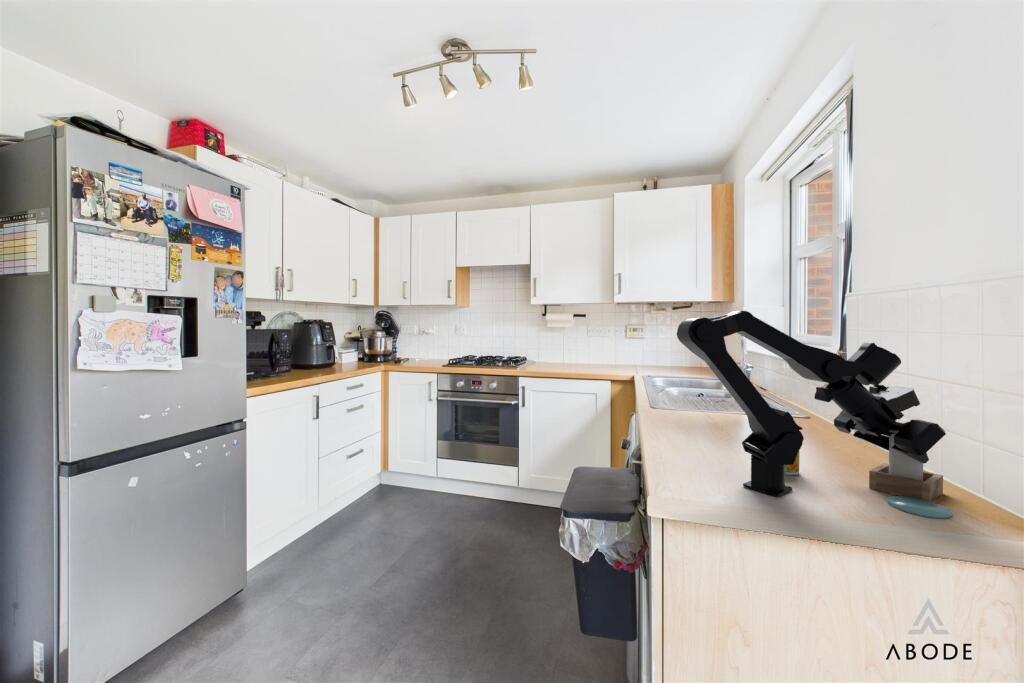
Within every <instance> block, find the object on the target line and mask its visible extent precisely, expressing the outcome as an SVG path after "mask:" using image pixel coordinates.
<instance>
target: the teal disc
mask: <svg viewBox="0 0 1024 683" xmlns="http://www.w3.org/2000/svg"><path fill="white" fill-rule="evenodd" d="M887 503H888V504H889V505H890V506H891V507H894V509H897V510H899V511H902V512H905V513H908V514H912V515H916V516H920V517H926V518H932V519H941V518H945V519H950V517H951V518H952V517H953V511H952V510H951V509H949V508H948V507H946V506H944V505H942V504H939V503H936V502H933V501H932V502H930V501H926V500H922V499H918V498H912V497H904V496H899V495H893V496H889V497H887Z"/></svg>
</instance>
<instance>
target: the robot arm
mask: <svg viewBox="0 0 1024 683" xmlns="http://www.w3.org/2000/svg"><path fill="white" fill-rule="evenodd" d="M676 330H677V332H676V336H677V339H678V341H679V342H680V343H681V344H682V345H683V346H684V347H685V348H687V350H689V351H690V352H691V353H693V354H694V355H695V356H697V357H698V358H700V359H701V360H703V362H705V363H706V365H707V366H708V368H710V370H711V371H712V373H713V374H714V375H715V377H716V378H717V379H718V380H719V381H720V383H721V384H722V385H723V387H724V388H725V389H726V390H727V391H728V393H729V394H730V395H731V397H732V398H733V400H735V402H736V403H737V405H738V406H739V407H740V408H741V409H742V411H743V412H744V413H745V415H746V416H747V420H748V426H749V429H750V430H751V432H752V433H750V434H749V435H748V436H747V437H746V438H745V439H744V440H742V442H741V445H742V448H743V450H744V452H745V453H748V454H750V455H751V456H750V480H749V481H746V482H743V483H742V486H743V487H744V488H749V489H751V490H754V491H757V492H760V493H764V494H766V495H770V496H773V497H780V496H783V495H785V494H788V493H789V492H791V491H793V487H792V486H789V485H786V481H785V480H786V478H785V477H786V476H785V465H793V464H794V461H795V459H796V456H797V453H798V451H799V452H800V450H801V448H802V446H803V443H804V440H805V438H804V434H803V433H802V431H801V430H803V427H801V426H800V425H799V424H797V422H796V421H795V419H794V417H793V416H792V414H791V413H790V412H789V411H786V410H782V409H779V408H776V407H773V406H770V405H769V403H768V402H767V401H766V400H765V398H764V397H763V395H762V394H761V393H760V392H759V390H758V389H757V388H756V387H755V386H754V384H753V382H752V381H751V380H750V379H749V377H748V376H747V375H746V374H745V373H744V371H743V370H742V368H741V367H740V366H739V365H738V363H737V362H736V360H734V358H733V357H732V355H731V354H730V353H729V352H728V350H727V346H726V340H725V338H726V337H729V336H732V335H734V334H739V335H740V336H743V338H746V339H747V340H749V341H751V342H752V343H755V344H756V345H758V346H760V347H761V348H764V349H765V350H767V351H769V352H771V353H772V354H774V355H776V356H778V357H779V358H782V360H784V361H785V362H786V363H787V364H788V366H789V368H790V369H791V370H793V371H794V372H795V373H796V374H798V375H799V376H801V378H803V379H805V380H807V381H808V380H809V381H815V382H821V383H824V384H823V386H816V387H815V393H814V399H815V400H817V401H819V402H820V401H821V402H824V403H825V402H826V403H830V402H833V403H835V404H836V406H838V407H839V409H840V410H841V411H840V412H839V414H838V415H837V416H836V417H835V418H834V419H833V426H834V427H835V428H836V429H837V430H838V431H839V432H841V433H845V434H848V435H850V434H851V433H852V430H853V431H854V433H853V434H852V436H853V437H855V438H857V439H860V440H862V441H864V442H867V443H869V444H871V445H874V446H876V447H878V448H881V449H884V450H885V451H888V452H889V437H890V436H892V435H893V434H896V435H895V436H894V444H895V445H894V446H892V447H891V448H892V449H894V450H897V451H899V452H901V453H903V454H905V455H907V456H909V457H911V458H913V459H915V460H918V461H920V462H922V463H923V464H927V463H928V462H929V460H930V459H929V456H928V452H929V450H931V449H932V448H933V447H934V446H935V445H937V443H938V442H939V441H941V439H943V438H944V437H945V435H947V433H946V430H944V428H942V427H941V426H940V425H939V424H938V423H936V422H932V421H931V422H930V421H926V420H921V419H910V420H909V421H906V422H904V423H903V422H899V421H897V420H901V419H902V418H903V417H904V416H905V414H904V413H903V412H904V411H906V410H909V409H911V408H913V407H918V406H920V405H921V402H920V400H919V399H918V396H917V393H916V392H915V389H914V388H911V387H905V386H897V385H895V386H894V385H893V386H889V385H888V386H885V385H884V384H882V382H883V381H884V380H886V379H887V378H888V377H889V376H890V375H891V374H892V373H893V372H894V371H895V370H896V369H897V368H899V366H900V365H901V364H902V360H901V358H900V357H899V356H898V355H897V354H896V353H895V352H894V353H893V352H891V351H889V350H888V349H886V348H884V347H882V346H878V345H877V344H875V342H863V343H862V344H861V346H859V348H858V350H856V351H855V352H854V353H853V354H852V355H851V356H850V357H849V358H848V359H845V358H844V357H843V356H842V355H839V354H837V353H835V352H831V351H828V350H825V349H823V348H819V347H815V346H813V345H812V346H811V345H808V344H805V343H802V342H801V341H798V340H797V339H796V338H793V337H792V336H790V335H788V334H786V333H784V332H783V331H781V330H780V329H778V328H776V327H774V326H772V325H770V324H768V323H767V322H765V321H764V320H761V319H759V318H757V317H756V316H754V315H753V314H752V313H751V312H750V311H748V310H736V311H730V312H729V313H726V314H723V315H718V316H714V317H710V318H709V317H694V318H693V317H692V318H687V319H685V320H683V321H681V323H680V324H679V325H678V327H677V329H676ZM865 386H868V388H867V387H865Z"/></svg>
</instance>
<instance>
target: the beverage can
mask: <svg viewBox="0 0 1024 683" xmlns="http://www.w3.org/2000/svg"><path fill="white" fill-rule="evenodd" d="M895 435H896V434H893V435H892V436H890V437H889V451H888V464H889V474H893V475H897V476H902V477H906V478H911V479H915V480H920V481H923V471H924V463H922V462H920V461H918V460H915V459H913V458H911V457H909V456H907V455H905V454H903V453H901V452H899V451H897V450H894V449H892V448H891V447H892V446H894V445H895V444H894V436H895Z"/></svg>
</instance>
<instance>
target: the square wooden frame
mask: <svg viewBox="0 0 1024 683" xmlns="http://www.w3.org/2000/svg"><path fill="white" fill-rule="evenodd" d="M868 472H869V473H868V474H869V477H868V483H869V484H868V487H869V489H873V490H877V491H880V492H884V493H888V494H890V495H891V494H892V495H894V496H904V497H912V498H918V499H922V500H926V501H930V502H933V501H934V500H936V499H937V498H938V496H939V497H940V496H941V495H943V493H944V475H943V474H939V473H934V472H930V471H924V470H923V481H920V480H915V479H911V478H906V477H902V476H897V475H893V474H889V463H882V464H880V465H878V466H875V467H874V468H872V469H870V470H868Z"/></svg>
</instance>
